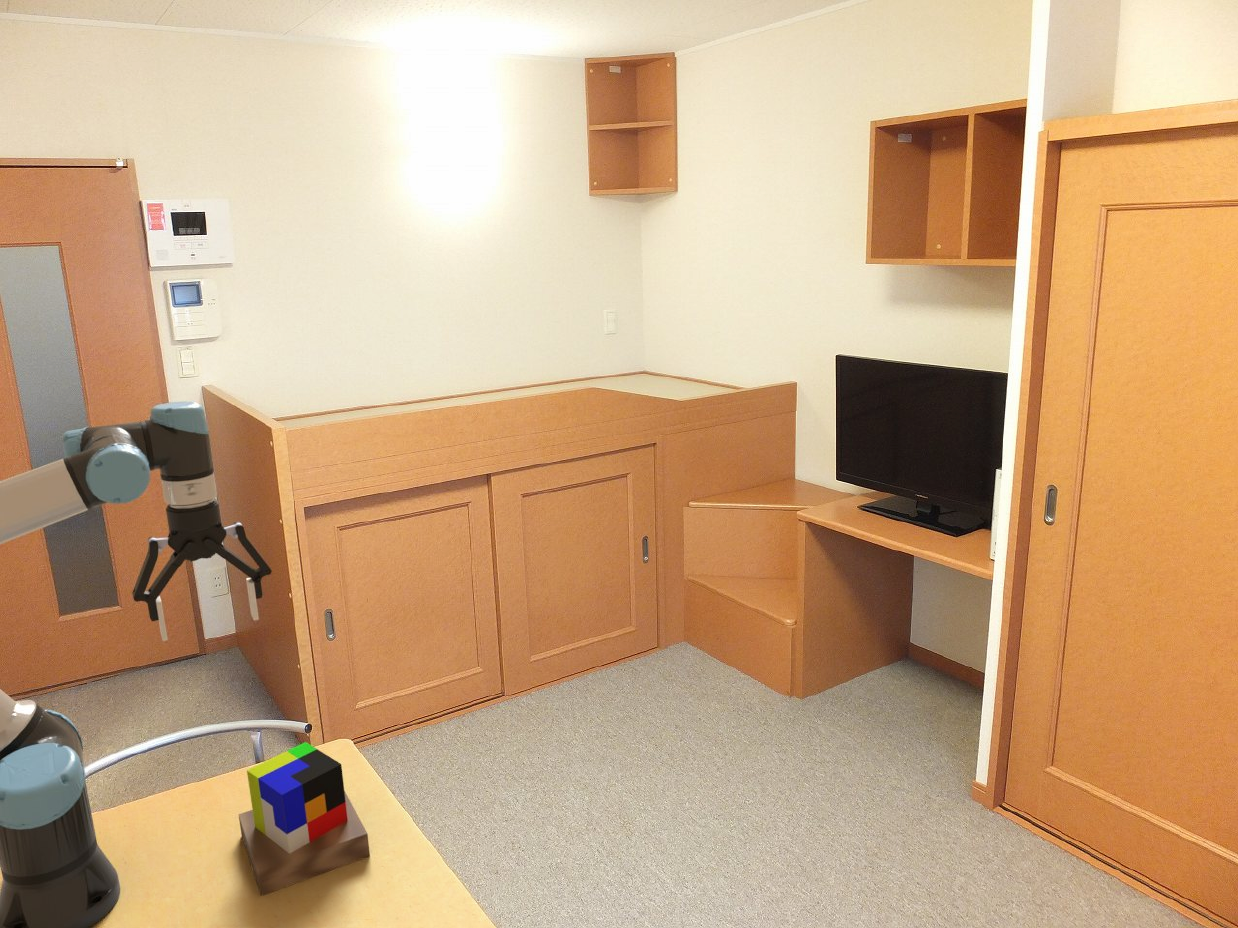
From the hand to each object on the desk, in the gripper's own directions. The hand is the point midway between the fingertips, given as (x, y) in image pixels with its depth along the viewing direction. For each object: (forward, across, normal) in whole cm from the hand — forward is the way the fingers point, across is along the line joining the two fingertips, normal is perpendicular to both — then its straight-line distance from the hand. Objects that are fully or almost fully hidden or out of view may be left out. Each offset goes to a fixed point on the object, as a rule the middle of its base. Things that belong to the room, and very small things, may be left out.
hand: (210, 627), depth 149 cm
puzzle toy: (+28, +7, -19) cm, 34 cm away
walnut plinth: (+32, +7, -19) cm, 38 cm away
